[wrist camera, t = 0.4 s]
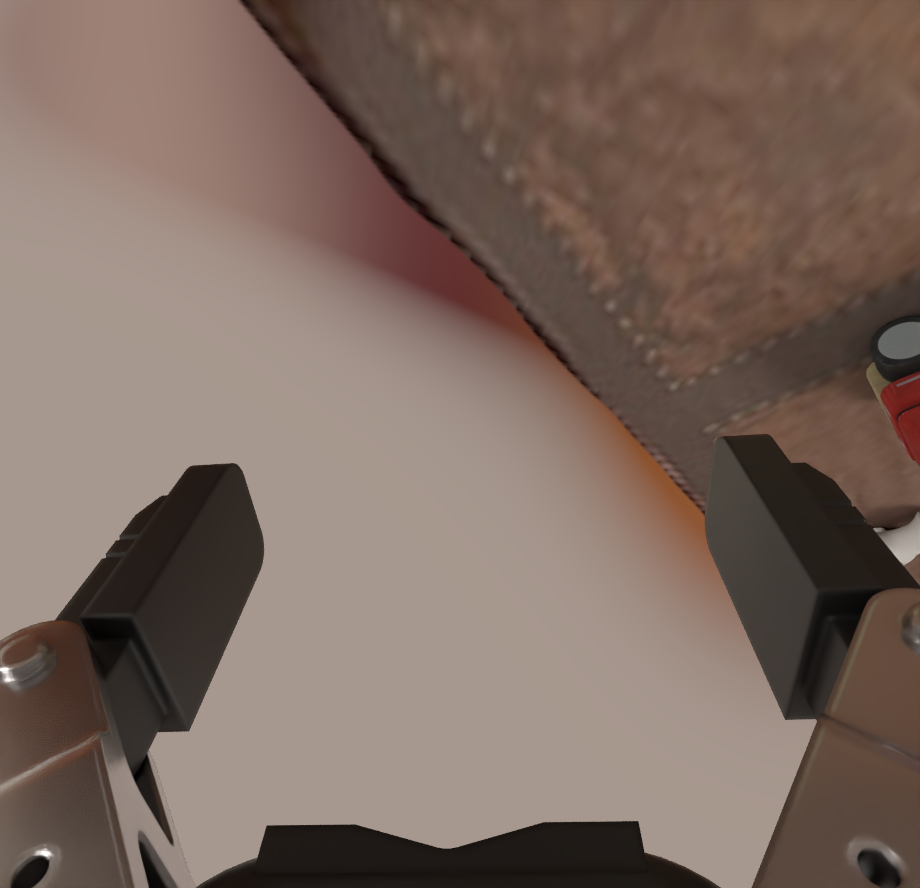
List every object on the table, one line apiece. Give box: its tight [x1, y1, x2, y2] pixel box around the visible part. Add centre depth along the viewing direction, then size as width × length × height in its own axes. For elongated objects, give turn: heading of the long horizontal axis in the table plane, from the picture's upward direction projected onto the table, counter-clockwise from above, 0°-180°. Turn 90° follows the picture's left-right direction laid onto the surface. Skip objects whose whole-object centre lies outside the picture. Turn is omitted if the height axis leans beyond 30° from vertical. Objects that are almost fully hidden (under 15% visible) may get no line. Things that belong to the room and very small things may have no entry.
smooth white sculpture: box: [873, 511, 920, 565], centre depth 60 cm, size 4×8×5 cm
